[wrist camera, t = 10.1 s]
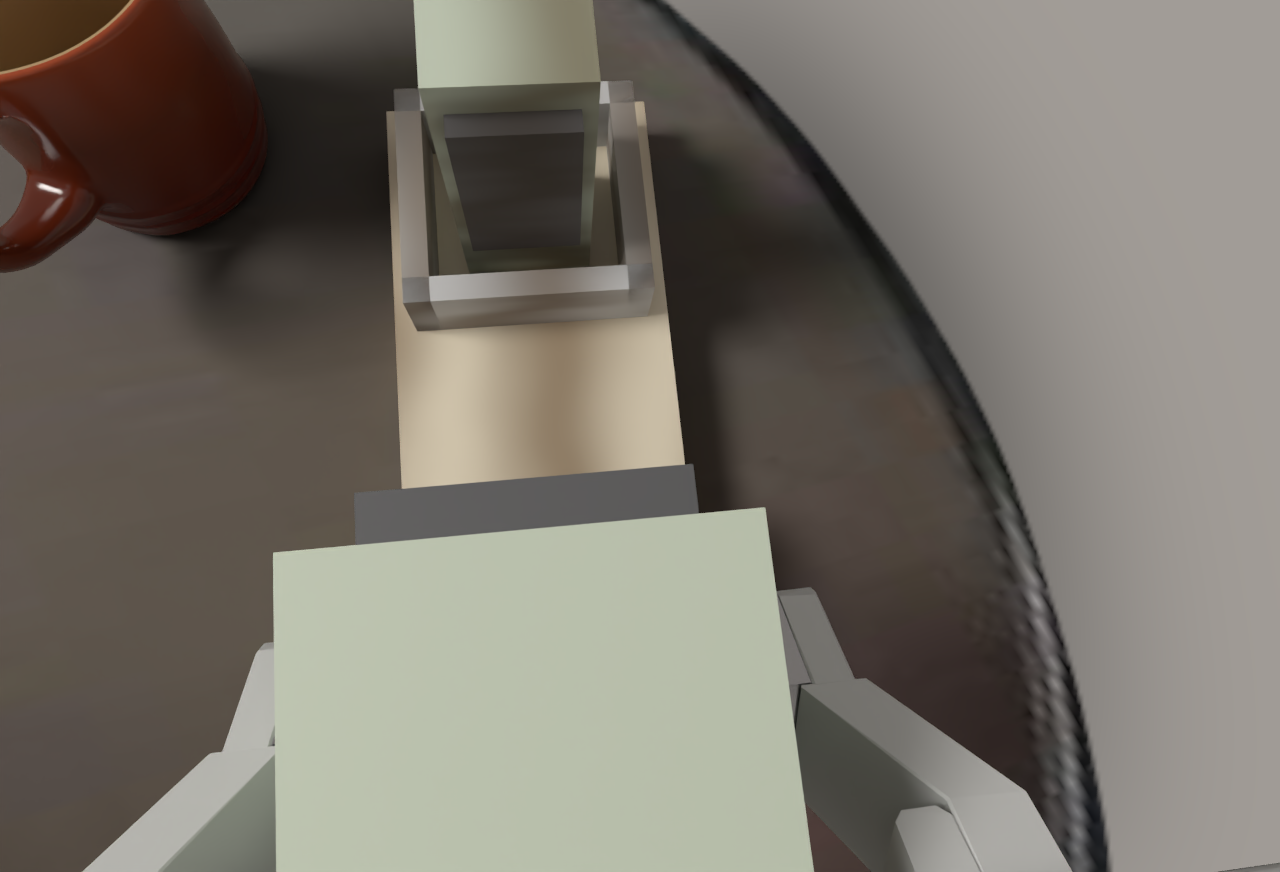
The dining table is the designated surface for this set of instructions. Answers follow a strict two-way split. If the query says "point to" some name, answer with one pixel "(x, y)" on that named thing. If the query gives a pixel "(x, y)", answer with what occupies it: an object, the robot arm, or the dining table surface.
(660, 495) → the block
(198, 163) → the mug
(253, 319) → the dining table surface
